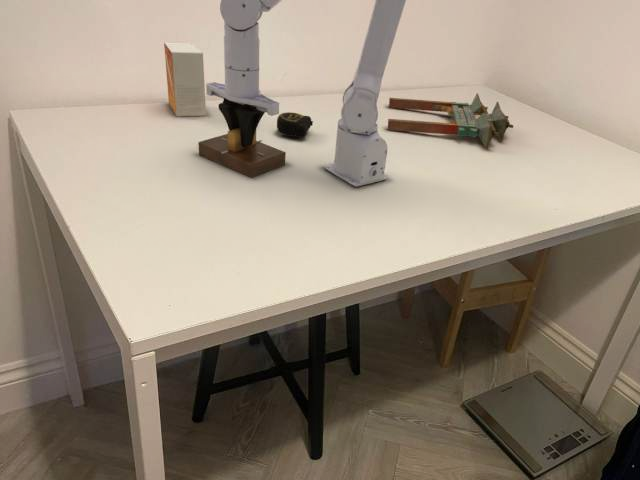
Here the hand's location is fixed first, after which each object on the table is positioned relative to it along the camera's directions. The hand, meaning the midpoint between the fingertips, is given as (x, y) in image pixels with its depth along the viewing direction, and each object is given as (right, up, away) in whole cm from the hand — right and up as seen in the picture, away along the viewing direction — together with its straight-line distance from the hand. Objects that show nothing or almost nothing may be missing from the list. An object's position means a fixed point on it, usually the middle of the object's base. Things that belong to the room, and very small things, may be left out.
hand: (242, 144), depth 102 cm
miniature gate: (+42, +14, +36) cm, 57 cm away
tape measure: (+7, +6, +17) cm, 19 cm away
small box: (-17, +12, +20) cm, 29 cm away
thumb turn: (0, 0, 0) cm, 1 cm away
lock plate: (0, -2, +2) cm, 3 cm away
